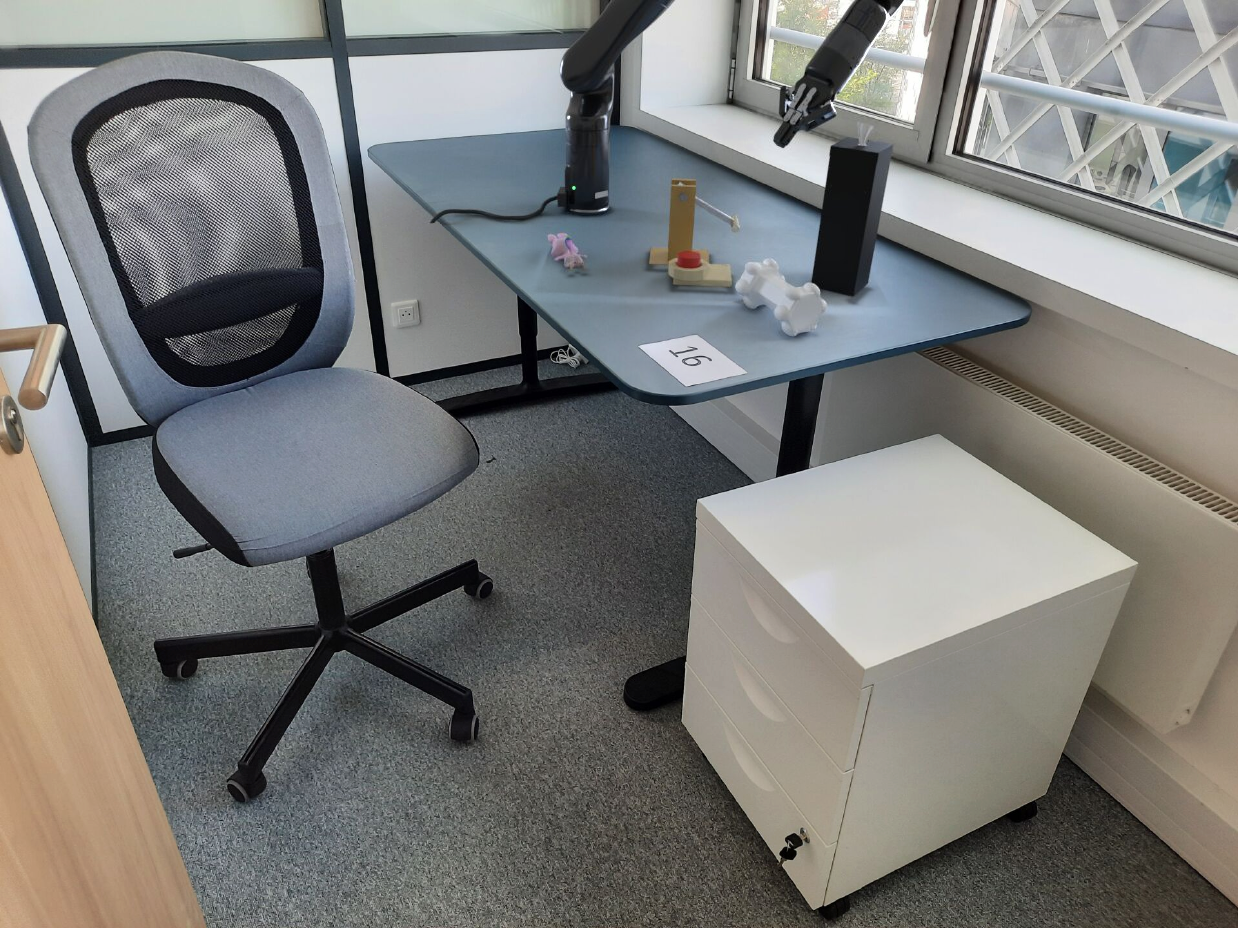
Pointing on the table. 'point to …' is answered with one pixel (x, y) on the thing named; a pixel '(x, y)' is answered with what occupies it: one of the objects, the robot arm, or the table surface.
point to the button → (689, 259)
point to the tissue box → (851, 212)
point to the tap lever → (718, 213)
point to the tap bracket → (679, 224)
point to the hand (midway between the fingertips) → (778, 144)
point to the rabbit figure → (566, 250)
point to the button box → (701, 274)
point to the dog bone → (781, 297)
